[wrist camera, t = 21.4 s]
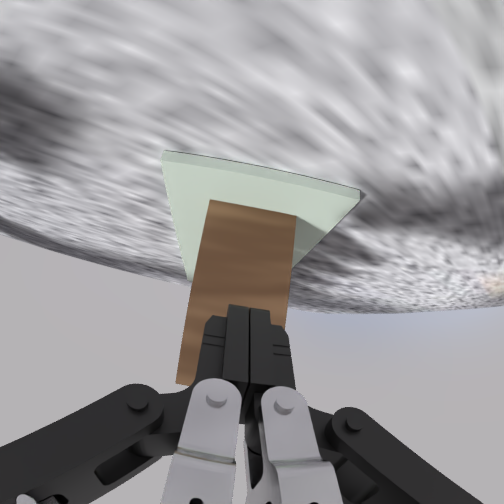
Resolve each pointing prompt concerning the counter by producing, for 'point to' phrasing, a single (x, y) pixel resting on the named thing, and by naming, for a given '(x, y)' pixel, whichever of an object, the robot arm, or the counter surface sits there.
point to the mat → (249, 199)
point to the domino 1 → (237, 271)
